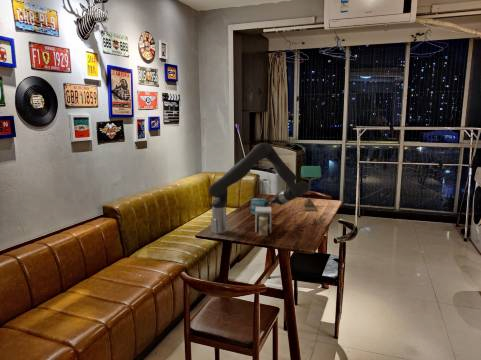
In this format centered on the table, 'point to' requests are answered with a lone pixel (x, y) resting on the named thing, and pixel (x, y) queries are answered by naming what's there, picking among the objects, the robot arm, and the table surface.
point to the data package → (257, 204)
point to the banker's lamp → (310, 173)
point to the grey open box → (267, 223)
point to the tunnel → (262, 210)
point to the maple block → (263, 224)
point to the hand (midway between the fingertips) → (269, 203)
